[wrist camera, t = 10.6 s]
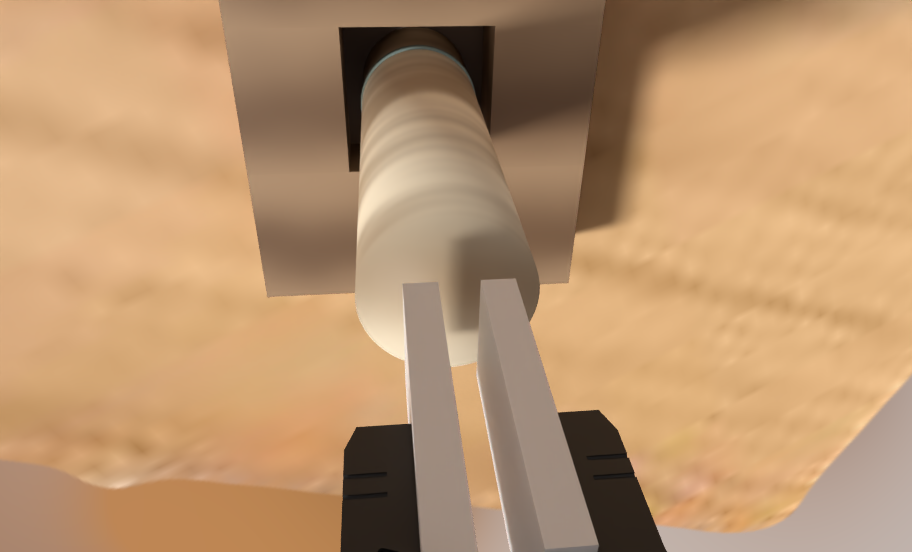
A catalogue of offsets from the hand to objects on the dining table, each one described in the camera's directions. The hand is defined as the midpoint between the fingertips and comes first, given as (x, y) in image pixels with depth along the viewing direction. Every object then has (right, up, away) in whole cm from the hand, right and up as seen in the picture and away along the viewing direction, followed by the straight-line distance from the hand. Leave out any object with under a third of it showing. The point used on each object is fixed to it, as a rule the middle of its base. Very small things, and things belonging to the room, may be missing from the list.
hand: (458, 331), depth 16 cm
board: (-2, +10, +15) cm, 18 cm away
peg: (-2, +10, +14) cm, 17 cm away
